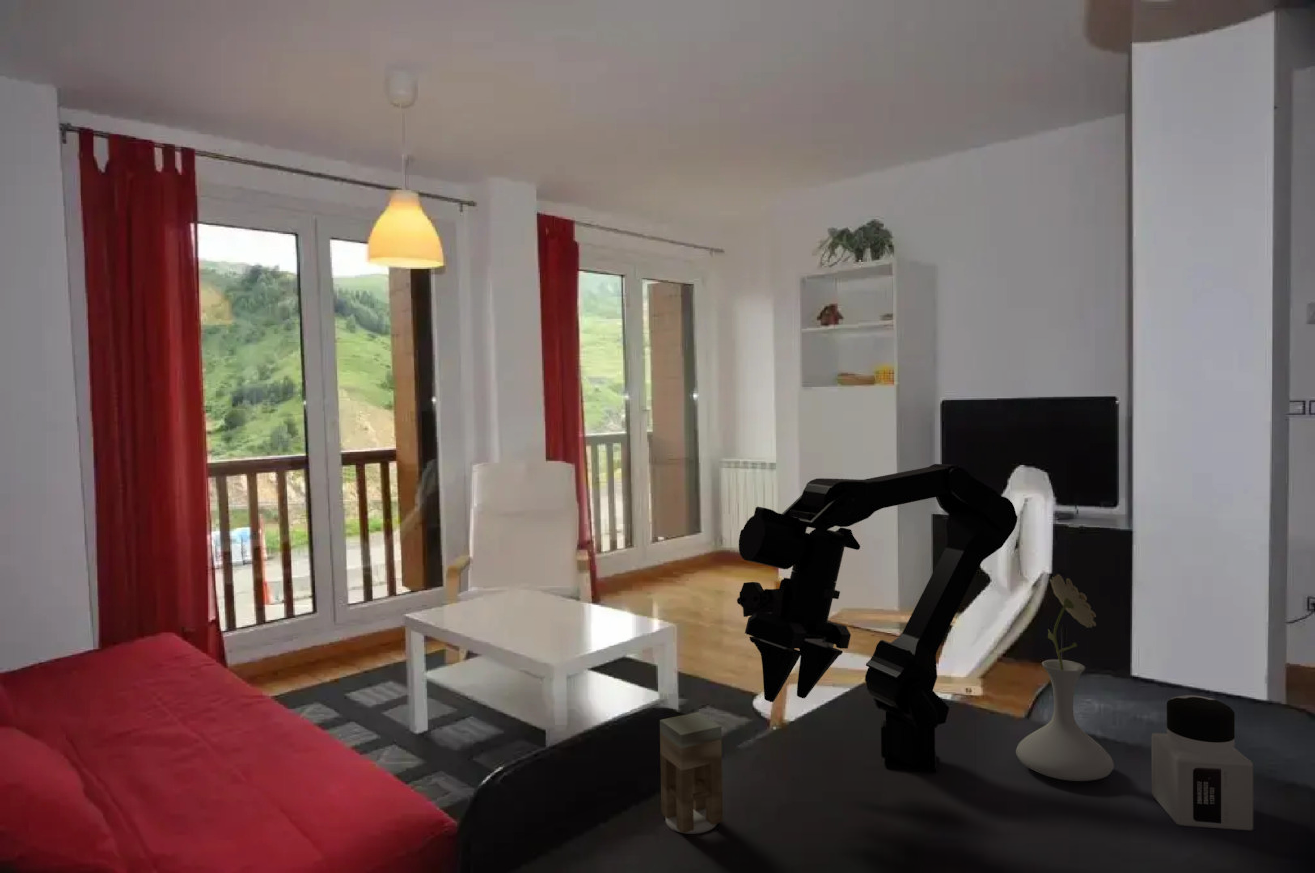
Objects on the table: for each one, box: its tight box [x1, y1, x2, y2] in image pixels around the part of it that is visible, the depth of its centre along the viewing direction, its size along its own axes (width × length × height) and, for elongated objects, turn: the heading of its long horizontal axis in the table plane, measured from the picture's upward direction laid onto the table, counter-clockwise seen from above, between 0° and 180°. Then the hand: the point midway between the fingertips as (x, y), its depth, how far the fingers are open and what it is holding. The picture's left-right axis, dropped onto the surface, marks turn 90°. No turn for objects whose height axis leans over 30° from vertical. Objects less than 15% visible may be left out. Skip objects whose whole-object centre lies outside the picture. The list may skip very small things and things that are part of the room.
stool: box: [659, 711, 724, 834], centre depth 96 cm, size 5×5×11 cm
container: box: [1151, 694, 1254, 831], centre depth 96 cm, size 8×8×13 cm
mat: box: [665, 808, 718, 835], centre depth 96 cm, size 6×6×1 cm
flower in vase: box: [1015, 573, 1115, 782], centre depth 108 cm, size 13×11×25 cm
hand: (785, 699), depth 104 cm, fingers open, 9 cm apart
